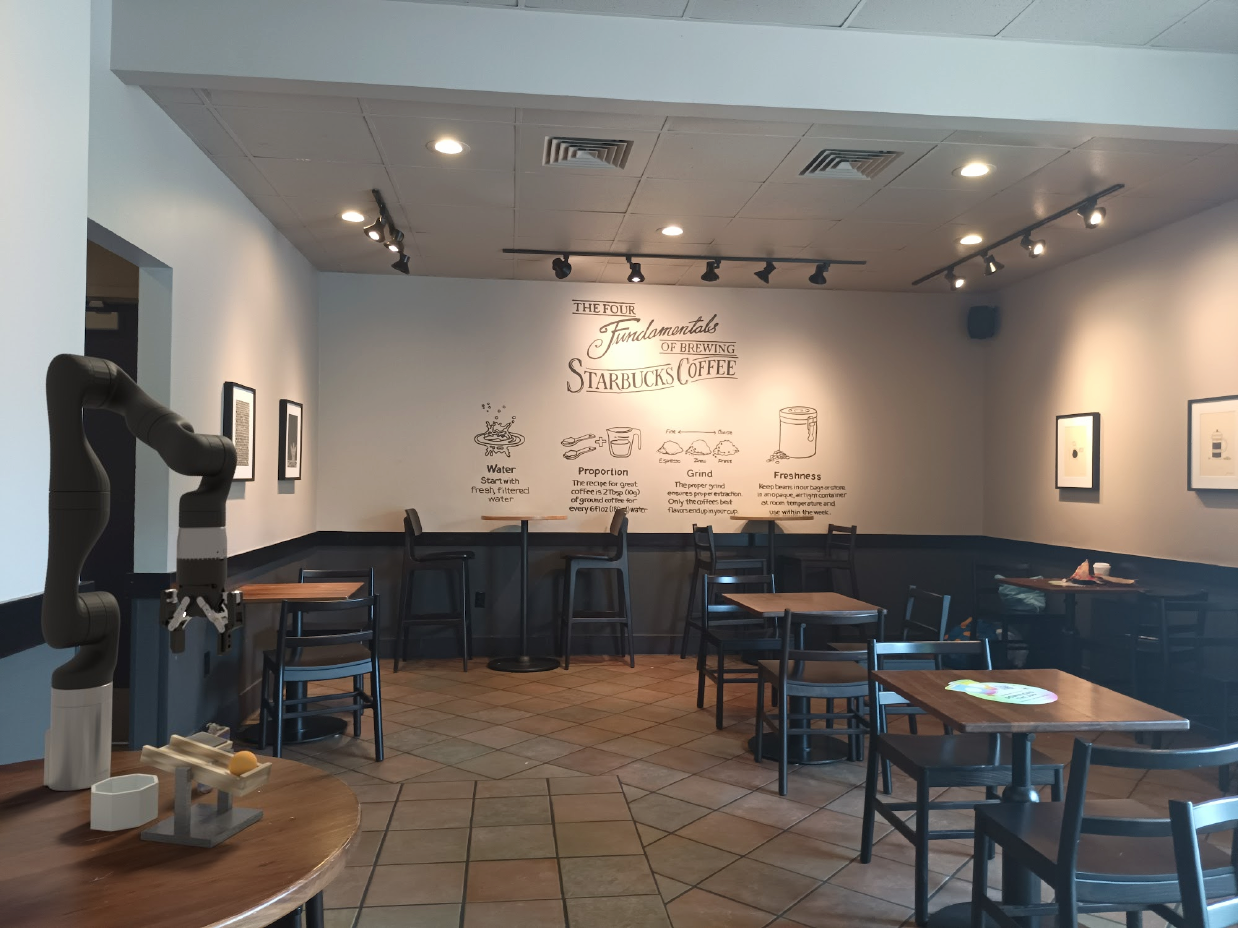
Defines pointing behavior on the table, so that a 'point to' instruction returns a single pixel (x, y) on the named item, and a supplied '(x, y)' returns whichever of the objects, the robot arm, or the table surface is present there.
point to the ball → (242, 763)
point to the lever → (206, 763)
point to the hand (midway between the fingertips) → (200, 653)
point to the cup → (124, 802)
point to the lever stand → (200, 817)
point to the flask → (219, 732)
